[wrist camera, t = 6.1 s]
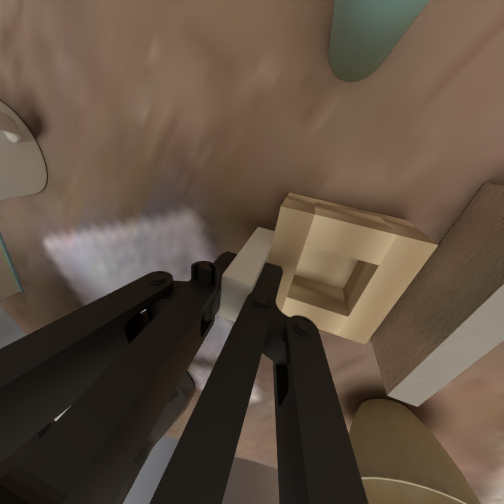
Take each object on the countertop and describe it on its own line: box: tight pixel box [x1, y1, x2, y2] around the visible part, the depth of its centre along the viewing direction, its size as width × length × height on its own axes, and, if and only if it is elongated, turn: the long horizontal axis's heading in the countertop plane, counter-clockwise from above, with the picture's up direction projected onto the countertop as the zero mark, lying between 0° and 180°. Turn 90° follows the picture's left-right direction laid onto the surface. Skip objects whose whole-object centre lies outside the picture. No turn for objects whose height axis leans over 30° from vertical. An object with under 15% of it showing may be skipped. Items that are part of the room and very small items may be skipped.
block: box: [267, 193, 438, 344], centre depth 14 cm, size 8×8×4 cm
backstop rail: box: [371, 182, 504, 407], centre depth 12 cm, size 2×14×5 cm, turn 170°
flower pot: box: [349, 399, 481, 504], centre depth 19 cm, size 10×10×7 cm
